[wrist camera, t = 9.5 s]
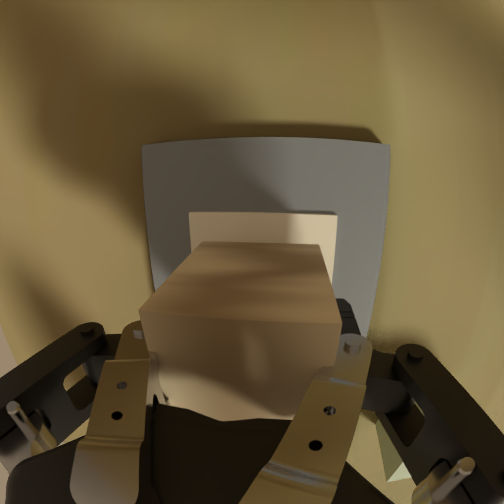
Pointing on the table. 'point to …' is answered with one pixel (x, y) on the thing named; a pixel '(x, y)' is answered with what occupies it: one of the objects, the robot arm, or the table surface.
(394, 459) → the sage block
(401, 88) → the table surface
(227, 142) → the slate board
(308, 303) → the maple block
